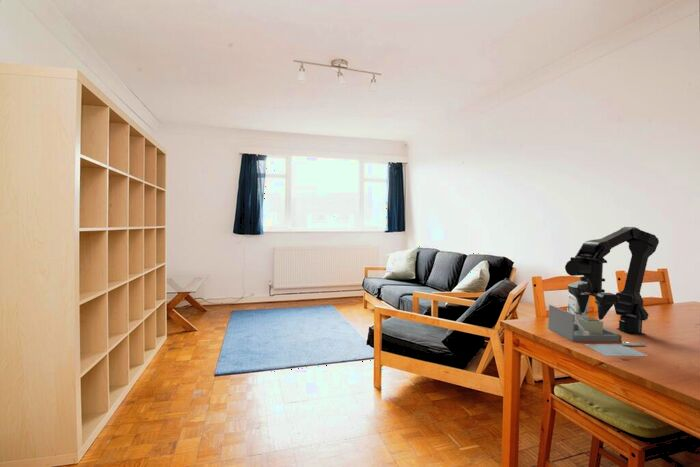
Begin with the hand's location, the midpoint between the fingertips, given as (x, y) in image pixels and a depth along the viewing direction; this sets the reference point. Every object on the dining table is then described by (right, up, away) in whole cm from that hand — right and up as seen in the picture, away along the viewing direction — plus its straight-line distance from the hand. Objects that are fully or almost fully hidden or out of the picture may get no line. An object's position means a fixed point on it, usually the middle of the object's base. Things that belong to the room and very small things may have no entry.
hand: (591, 315), depth 128 cm
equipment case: (-2, -8, +1) cm, 8 cm away
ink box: (+6, -8, +17) cm, 20 cm away
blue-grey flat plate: (-2, -9, -14) cm, 16 cm away
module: (0, -8, 0) cm, 8 cm away
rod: (+8, -8, -9) cm, 15 cm away
